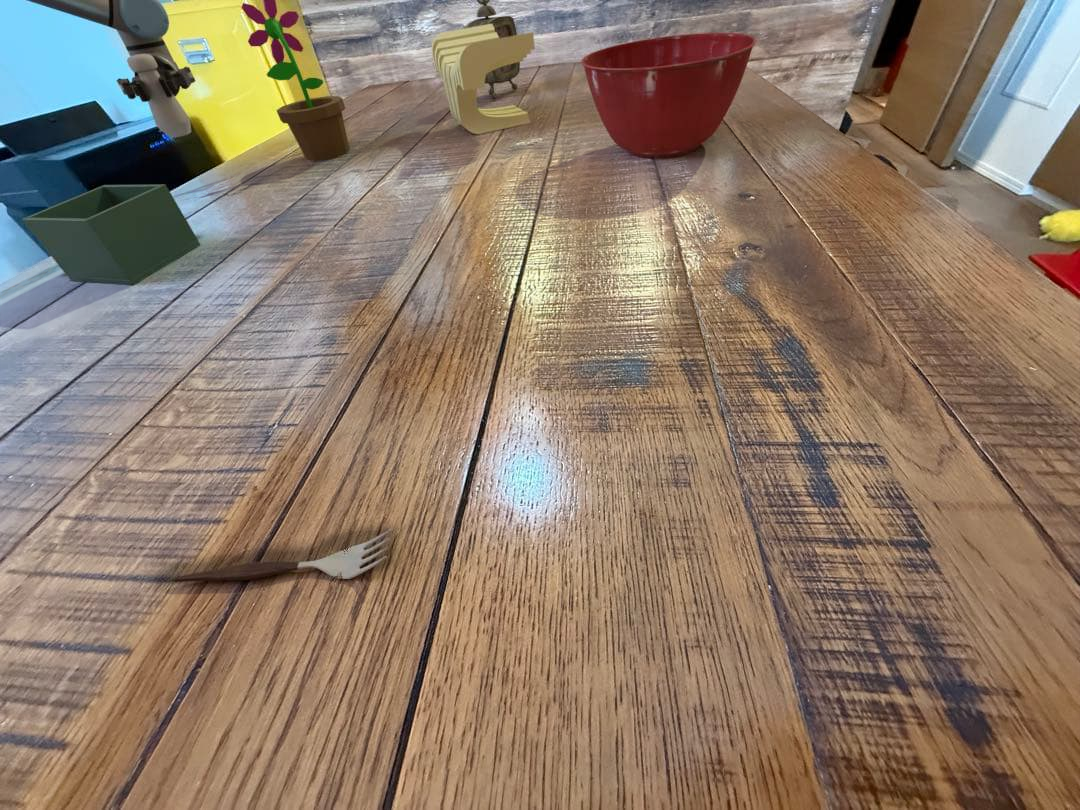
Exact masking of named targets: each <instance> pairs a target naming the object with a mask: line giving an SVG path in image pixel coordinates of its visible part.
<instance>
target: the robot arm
mask: <svg viewBox="0 0 1080 810" xmlns="http://www.w3.org/2000/svg"><path fill="white" fill-rule="evenodd" d="M26 1H27V2H31V3H34V4H37V5H40V6H43V7H46V8H49V9H52V10H55V11H58V12H61V13H65V14H68V15H70V16H74V17H77V18H80V19H83V20H87V21H89V22H92V23H96V24H99V25H102V26H105V27H109V28H111V29H114V30H116V32H117V33H118V35H119V37H120V39H121V41H122V42H123V45H124V46H125V49H126V51H127V53H128V55H129V57H130V56H133V55H138V54H150V55H151V56H153V58H154V59H155V61H156V63H157V65H158V67H157V69H156V70H157V72H158V73H159V75H160V76H161V77H159V82H160V84H161V86H162V88H163V90H164V92H165V94H166V96H167V98H168V97H172V93H173V95H174V96H175V97H177V96H178V95H179V93H180V90H187V89H189V88H190V86H191V85H192V84H195V82H196V79H195V77H194V75H193V72H192V70H191V68H190V67H189V66H184V67H182V68H179V66H178V64H177V62H176V61H175V60H174V58H173V56H172V54H171V52H170V49H169V48H168V46H167V44H166V42H165V40H164V38H163V37H165V36H166V34H167V33H168V30H169V26H170V20H169V15H168V12H167V10H166V9H165V7H164V6H163V4H162V3H161V1H159V0H26ZM133 73H134V76H133V77H131V81H130V79H129V78H117V79H116V82H117V84H118V86H119V87H120V89H121V92H122V93H123V95H125V96H127V98H128V99H129V100H134V99H136V98H137V97H139V99H140V101H141V102H142V103H148V101H150V96H149V94H148V92H147V90H146V88H145V86H144V85H143V83H142V81H141V80H140V77H139V74H138V73H137V72H133Z"/></svg>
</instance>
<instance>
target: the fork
mask: <svg viewBox="0 0 1080 810" xmlns="http://www.w3.org/2000/svg"><path fill="white" fill-rule="evenodd" d="M392 531H393V528H389V529H387V530H386V531H385V532H383V533H381V534H379V535H378V536H376V537H374V538H372V539H370V540H368V541H365V542H362V543H360V544H356V545H353V546H351V548H350V547H347V548H348V550H347V548H345V549H346V550H347V551H348V552H347V551H346V550H345V549H342V550H339V551H338V552H336V553H335V552H334V553H333V554H331V555H328V556H325V557H322V558H320V559H316V560H310V561H256V562H247V563H241V564H236V565H231V566H227V567H221V568H215V569H211V570H210V569H209V570H204V571H200V572H193V573H189V574H184V575H179V576H175V577H172V579H171V582H176V583H177V582H181V583H183V582H207V581H209V582H211V581H213V582H214V581H248V580H255V579H261V578H266V577H271V576H275V575H279V574H284V573H289V572H293V571H298V570H303V569H309V568H311V569H312V568H314V569H317V570H319V571H322V572H323V573H325V574H327V575H328V576H330V577H332V576H334V577H335V576H337V575H338V574H339V573H340V572H342V573H340V574H342V575H341V576H342V577H343V579H344V578H345V579H348V580H351V579H354V578H355V577H358V576H360V575H362V574H364V573H365V572H367V571H369V570H370V569H372V568H374V567H376V566H377V565H378V564H381V563H382V562H383V561H385V560H387V559H388V556H387V555H385V556H383V557H382V558H380V559H378V560H376V561H374V562H372V563H370V564H369V565H366V566H364V565H365V564H367V563H368V562H370V561H372V560H374V559H375V558H377V557H379V556H380V555H381V554H383V553H385V552H386V551H387V550H389V549H390V548H389V547H388V546H386V547H384V548H382V549H381V550H379V551H377V552H376V553H373V554H372V555H370V556H368V557H366V558H364V557H365V556H367V555H369V554H370V553H372V552H374V551H375V550H377V549H379V548H380V547H381V546H383V545H384V544H387V543H388V542H389V541H390V540H391V537H387V538H386V539H385V540H382V541H380V542H379V543H377V544H376V545H373V544H374V543H375V542H377V541H379V540H381V539H382V538H384V537H385V536H386V535H388V534H390V533H391V532H392ZM370 545H373V546H372V547H370V548H367V547H369V546H370ZM343 550H344V551H345V552H344V551H343ZM344 553H345V554H344ZM362 566H364V567H362ZM361 567H362V568H361ZM340 574H339V575H340ZM339 575H338V576H339ZM334 577H333V578H334ZM342 577H341V578H342Z"/></svg>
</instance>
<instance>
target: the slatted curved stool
mask: <svg viewBox="0 0 1080 810" xmlns="http://www.w3.org/2000/svg"><path fill="white" fill-rule="evenodd" d="M534 37H535V36H534V31H531V32H527V33H520V34H517V35H515V36H510V37H504V38H499V36H498V34H497V32H495V29H494V27H493V25H492V24H487V25H482V26H476V27H471V28H465V29H464V28H460V29H454V30H449V31H443V32H441V33H438V34H437V35H436V36H435V37H434V38H433V40H432V43H431V47H430V48H431V50H430V53H431V57H432V62H433V66H434V71H435V73H439V75H440V77H441V80H443V86H444V89H445V93H446V97H447V101H448V106H449V111H450V113H451V115H452V117H453V118H454V119H455V121H456V122H458V123H459V124H460V125H461V126H462V127H463V128H464V129H465V130H467V131H468V132H470V133H472V134H475V135H482V134H486V133H492V132H496V131H500V130H506V129H509V128H514V127H518V126H523V125H528V124H531V120H530V115H529V113H528V111H525V110H523V109H522V108H520V107H518V106H517V105H515V104H512V105H511V104H510V105H506V106H500V107H491V108H479V107H478V104H477V93H478V89H482V88H485V84H486V83H485V77H486V74H487V73H489V72H491V71H493V70H495V69H497V68H500V67H503V66H506V65H509V64H513V63H517V62H520V63H521V62H524V59H526V58H528V55H530V54H532V51H533V50H536V46H535V38H534Z"/></svg>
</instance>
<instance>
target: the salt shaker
mask: <svg viewBox="0 0 1080 810" xmlns="http://www.w3.org/2000/svg"><path fill="white" fill-rule="evenodd" d="M126 62H127V65H128V67H129V68H130V70H131V71H132V72H133V73H134V72H137V73H138V74H139V77H140V80H141V81H142V83H143V85H144V86H145V88H146V90H147V92H148V94H149V96H150V101H147V104H148V106H149V109H150V112H151V115H152V118H153V120H154V121H153V122H154V124H155V126H156V128H158V129H159V130H160V131H161V132H162V133H164V134H165V135H166V136H167V137H168V138H169V139H172V138H173V139H174V138H180V137H184V136H187V135H189V134H191V133H192V126H191V119H190V117H189V115H188V114H187V112H186V111H185V109H184V108H183V106H182V105H181V104H180V102H179V100H178V99H177V98H176V96H174V95H173V93H172V97H168V98H167V96H166V94H165V92H164V90H163V88H162V86H161V84H160V82H159V77H161V76H160V75H159V73H158V72H157V70H156V69H157V67H158V65H157V63H156V61H155V59H154V58H153V56H151V55H150V54H138V55H133V56H130V55H129V57H127V59H126Z"/></svg>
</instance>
